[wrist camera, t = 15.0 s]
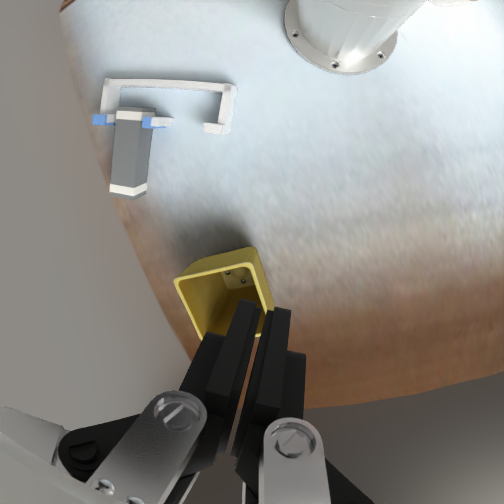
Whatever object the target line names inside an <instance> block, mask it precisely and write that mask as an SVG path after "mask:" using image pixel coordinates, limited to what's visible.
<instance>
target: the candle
mask: <svg viewBox="0 0 504 504" xmlns="http://www.w3.org/2000/svg"><path fill="white" fill-rule="evenodd" d="M428 1H430V2H431V3H433V4H435V5H437V6H440V7H445V8H452V7H456V6H460V5H464V4H468V3H473V2H477V1H480V0H428Z"/></svg>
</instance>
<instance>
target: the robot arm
mask: <svg viewBox="0 0 504 504" xmlns="http://www.w3.org/2000/svg"><path fill="white" fill-rule="evenodd" d="M426 1H427V0H289V2H288V4H287V7H286V10H285V19H284V21H285V28H286V32H287V35H288V38H289V40H290V42H291V44H292V45H293V47H294V48H295V49H296V50H297V52H298V53H299V54H300V55H301V56H302V57H303V58H304V59H306V60H307V61H308V62H310V63H311V64H313V65H314V66H316V67H319V68H321V69H323V70H325V71H329V72H332V73H336V74H343V75H356V74H362V73H366V72H369V71H371V70H373V69H376V68H377V67H379V66H380V65H382V64H383V63H384V62H385V61H386V60H387V59H388V58H389V57H390V56H391V54H392V53H393V51H394V49H395V46H396V43H397V36H398V32H397V29H398V28H399V27H400V26H401V25H402V24H403V23H404V22H405V21H406V20H407V19H408V18H409V17H410V16H411V15H412V14H414V13H415V11H417V10H418V9H419V8H420V7H421V6H422V5H423V4H424V3H425V2H426ZM502 1H503V2H504V0H502ZM294 34H296V35H298V36H297V37H293V35H294ZM378 55H381V56H382V58H379V56H378ZM332 65H336V66H337V68H333V67H332ZM261 310H262V308H259V307H256V302H253V301H248V300H244V299H240V300H239V302H238V305H237V307H236V310H235V313H234V315H233V318H232V321H231V323H230V326H229V329H228V331H227V334H226V336H224V335H220V334H216V333H212V332H208V331H207V332H206V333H205V335H204V337H203V339H202V341H201V344H200V346H199V348H198V350H197V352H196V354H195V356H194V358H193V361H192V363H191V365H190V367H189V369H188V371H187V374H186V376H185V378H184V380H183V382H182V384H181V386H180V389H179V391H175V390H172V391H166V392H163V393H161V394H159V395H157V396H156V397H155V398H153V400H151V402H150V403H149V404H148V405H147V407H146V408H145V409H144V411H143V412H142V413H141V414H137V415H134V416H130V417H127V418H122V419H119V420H115V421H111V422H107V423H103V424H98V425H94V426H89V427H85V428H80V429H76V430H73V431H69V430H66V429H64V428H63V426H61V425H58V424H55V423H52V422H48V421H46V420H43V419H40V418H37V417H34V416H32V415H29V414H26V413H23V412H21V411H18V410H16V409H13V408H10V407H0V504H182V503H183V501H184V500H185V498H186V496H187V494H188V492H189V491H190V489H191V487H192V485H193V484H194V482H195V480H196V478H197V476H198V474H199V472H200V471H201V470H203V469H206V468H208V467H210V466H213V463H214V461H215V460H216V457H217V453H222V454H225V451H226V447H227V443H228V440H229V436H230V433H231V429H232V425H233V422H234V418H235V414H236V410H237V407H238V403H239V399H240V395H241V391H242V387H243V384H244V380H245V376H246V372H247V368H248V364H249V360H250V356H251V352H252V348H253V343H254V339H255V335H256V331H257V327H258V323H259V318H260V314H261ZM290 318H291V310H288V309H283V308H279V307H274V310H273V311H272V310H267V312H266V316H265V320H264V324H263V328H262V332H261V336H260V340H259V344H258V348H257V352H256V356H255V359H254V363H253V367H252V371H251V375H250V379H249V383H248V388H247V392H246V396H245V400H244V404H243V408H242V412H241V416H240V420H239V424H238V428H237V432H236V436H235V439H234V443H233V447H232V451H231V456H235V457H237V460H236V464H235V466H236V469H235V471H236V473H237V474H238V475H239V476H240V477H241V479H242V480H243V481H244V482H243V496H242V504H374V503H373V502H372V500H371V499H369V498H368V497H367V496H366V495H365V494H363V493H362V492H361V491H360V490H359V489H358V488H357V487H356V486H355V485H353V484H352V483H351V482H350V481H349V480H348V479H347V478H346V477H345V476H344V475H343V474H341V473H340V472H339V471H338V470H337V469H336V468H335V467H334V466H333V465H332V464H331V463H329V461H327V459H326V458H325V457H324V451H323V444H322V440H321V437H320V434H319V432H318V431H317V430H316V428H315V427H313V426H312V425H311V424H310V423H308V422H306V421H303V409H304V391H305V371H306V355H305V354H302V353H297V352H293V351H288V350H287V346H288V337H289V327H290Z"/></svg>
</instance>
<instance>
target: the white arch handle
mask: <svg viewBox="0 0 504 504" xmlns="http://www.w3.org/2000/svg"><path fill="white" fill-rule="evenodd" d="M122 87H146V88H170V89H185V90H197V91H208V92H217V93H223V94H222V100H221V105H220V111H219V117H218V123H204V129H203V132H207V133H214V134H220V135H221V134H230V129H231V123H232V118H233V112H234V106H235V101H236V95H237V90H238V87H236V86H234V85H233V84H227V83H224V84H218V83H208V82H197V81H182V80H161V79H105V80H104V86H103V93H102V100H101V108H100V114H93V120H92V124H94V125H116V113H117V110H118V106H119V102H120V95H121V88H122ZM173 119H174V118H170V117H143V121H142V127H143V128H149V129H152V128H166V126H173Z"/></svg>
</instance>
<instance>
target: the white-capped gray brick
mask: <svg viewBox="0 0 504 504" xmlns="http://www.w3.org/2000/svg"><path fill="white" fill-rule="evenodd" d="M155 110H156V108H143V107H119V106H118V110H117V113H116V126H115V135H114V145H113V157H112V170H111V184H110V196H115V197H120V198H125V199H130V200H134V199H136V198H138V197H140V196H142V195H144V194H146V190H147V175H148V165H149V156H150V147H151V139H152V131H153V128H152V129H149V128H143V127H142V121H143V117H155V113H156V112H155Z"/></svg>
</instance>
